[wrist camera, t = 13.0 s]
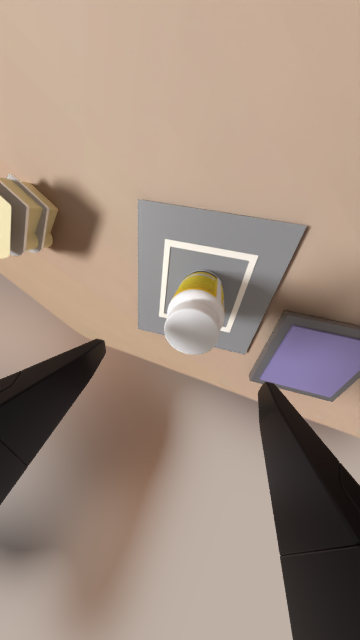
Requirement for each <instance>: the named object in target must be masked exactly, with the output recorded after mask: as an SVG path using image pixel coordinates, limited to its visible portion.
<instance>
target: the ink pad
mask: <svg viewBox="0 0 360 640" xmlns="http://www.w3.org/2000/svg"><path fill="white" fill-rule="evenodd" d="M249 378H250V381H253V382H257V383H261V384H264V382H270V383H274V384H275V385H276V386H277V388H280V389H284V390H288V391H292V392H296V393H300V394H304V395H308V396H312V397H315V398H319V399H323V400H327V401H331V402H333V401H334V400H335V399H336V398H337V397H338V396H339V395H341V394H342V393H343V392H344V391H345V390H346V389H347V388H348V387H349V386H351V385H352V384H353V383H354V382H355V381H356V380H357V379H358V378H360V326H356V325H351V324H346V323H341V322H337V321H332V320H327V319H322V318H317V317H313V316H308V315H303V314H298V313H294V312H289V311H284V312H283V314H282V316H281V318H280V320H279V321H278V323H277V325H276V327H275V329H274V330H273V332H272V334H271V336H270V338H269V340H268V341H267V343H266V345H265V347H264V349H263V350H262V352H261V354H260V356H259V358H258V360H257V361H256V363H255V365H254V367H253V369H252V370H251V372H250V374H249Z"/></svg>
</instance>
